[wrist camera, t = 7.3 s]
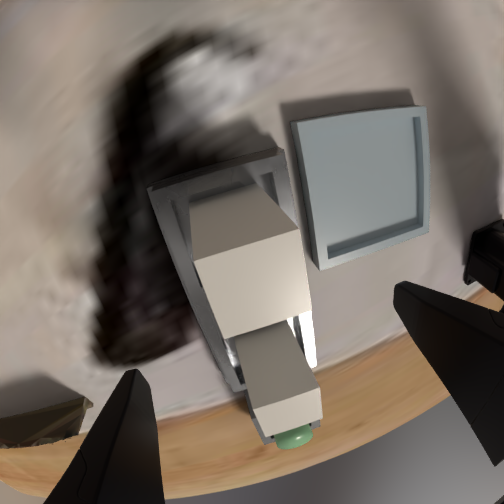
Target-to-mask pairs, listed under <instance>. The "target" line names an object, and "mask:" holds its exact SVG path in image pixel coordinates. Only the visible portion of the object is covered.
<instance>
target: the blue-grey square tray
mask: <svg viewBox="0 0 504 504" xmlns="http://www.w3.org/2000/svg"><path fill="white" fill-rule="evenodd" d="M290 125H291V130H292V135H293V140H294V145H295V150H296V156H297V161H298V167H299V172H300V178H301V184H302V190H303V196H304V202H305V208H306V215H307V221H308V228H309V235H310V242H311V249H312V256H313V263H314V264H315V266H316V267H317V268H318V269H319V271H322V270H325V269H328V268H330V267H333V266H336V265H339V264H342V263H345V262H348V261H351V260H354V259H357V258H360V257H362V256H365V255H368V254H371V253H374V252H377V251H379V250H382V249H385V248H388V247H390V246H393V245H396V244H399V243H401V242H404V241H407V240H410V239H412V238H415V237H418V236H420V235H423V234H426V233H428V232H429V219H430V152H429V135H428V122H427V111H426V106H419V105H409V106H397V107H386V108H376V109H368V110H359V111H352V112H345V113H338V114H331V115H325V116H319V117H313V118H307V119H302V120H297V121H291V122H290Z"/></svg>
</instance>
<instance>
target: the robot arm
mask: <svg viewBox="0 0 504 504" xmlns="http://www.w3.org/2000/svg"><path fill="white" fill-rule="evenodd" d="M475 281H477V282H479V283H480V284H481V285H482V286H484V287H485V288H486V289H487V290H489V291H490V292H491V293H495V294H496V295H497V296H498V297H499V298H501V299H502V300H503V301H504V219H501V220H499V221H497V222H495V223H493V224H491V225H488V226H486V227H484V228H482V229H480V230H478V231H475V232H474V233H473V235H472V241H471V248H470V254H469V260H468V266H467V271H466V276H465V281H464V283H465V284H466V285H470V284H471V283H473V282H475ZM393 305H394V308H395V310H396V312H397V313H398V315H399V317H400V318H401V320H402V322H403V324H404V325H405V327H406V329H407V331H408V332H409V334H410V336H411V337H412V339H413V341H414V342H415V344H416V345H417V347H418V348H419V349H420V351H421V352H422V354H423V355H424V356H425V358H426V359H427V361H428V362H429V363H430V365H431V366H432V368H433V369H434V371H435V372H436V374H437V375H438V377H439V378H440V379H441V381H442V382H443V384H444V385H445V387H446V388H447V390H448V391H449V393H450V394H451V396H452V397H453V399H454V401H455V402H456V404H457V405H458V407H459V408H460V410H461V411H462V413H463V415H464V416H465V418H466V419H467V421H468V423H469V424H470V425H471V428H472V429H473V431H474V433H475V434H476V436H477V438H478V439H479V441H480V443H481V444H482V446H483V448H484V450H485V451H486V453H487V455H488V456H489V458H490V460H491V462H492V464H493V465H494V466H497V465H498V464H499V463H500V462H501V461H503V460H504V305H503V307H502V309H501V310H500V311H499V312H497V311H494V310H491V309H488V308H485V307H483V306H480V305H477V304H474V303H471V302H468V301H465V300H462V299H459V298H456V297H453V296H450V295H447V294H444V293H441V292H438V291H435V290H432V289H429V288H426V287H423V286H420V285H417V284H414V283H411V282H408V281H402V282H400V283H398V284H396V285H395V287H394V299H393ZM43 504H165V499H164V492H163V484H162V475H161V466H160V455H159V444H158V432H157V424H156V418H155V413H154V407H153V401H152V395H151V389H150V386H149V383H148V382H147V381H146V379H145V378H144V376H143V375H142V374H141V372H140V371H139V370H138V369H132V370H128V371H126V372H125V373H124V375H123V376H122V378H121V379H120V381H119V383H118V384H117V386H116V388H115V389H114V391H113V392H112V394H111V396H110V397H109V399H108V401H107V402H106V404H105V406H104V407H103V409H102V411H101V412H100V414H99V416H98V417H97V419H96V421H95V422H94V424H93V426H92V427H91V429H90V431H89V433H88V434H87V436H86V438H85V439H84V441H83V443H82V445H81V446H80V449H79V450H78V451H77V453H76V455H75V457H74V458H73V460H72V462H71V463H70V465H69V467H68V468H67V470H66V471H65V473H64V474H63V476H62V477H61V479H60V480H59V482H58V483H57V485H56V486H55V488H54V489H53V490H52V492H51V493H50V495H49V496H48V498H47V499H46V501H45V502H44V503H43ZM495 504H504V495H503V496H502V497H501V498H500V499H499V500H498V501H497V502H495Z"/></svg>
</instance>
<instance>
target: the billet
mask: <svg viewBox="0 0 504 504" xmlns="http://www.w3.org/2000/svg"><path fill="white" fill-rule="evenodd" d="M189 212H190V225H191V238H192V249H193V260H194V264H195V266H196V269H197V272H198V274H199V277H200V280H201V282H202V285H203V288H204V290H205V293H206V295H207V298H208V300H209V303H210V306H211V308H212V311H213V313H214V316H215V318H216V321H217V323H218V326H219V328H220V330H221V333H222V335H223V338H224V339H226V338H230V337H233V336H236V335H240V334H243V333H246V332H249V331H253V330H256V329H259V328H262V327H265V326H268V325H271V324H274V323H277V322H280V321H283V320H286V319H289V318H292V317H295V316H298V315H301V314H304V313H306V312H309V311H312V306H311V299H310V292H309V285H308V278H307V272H306V265H305V259H304V252H303V246H302V240H301V234H300V229H299V228H298V226H297V225H296V224H295V223H294V222H293V221H292V220H291V219H290V218H289V217H288V216H287V215H286V214H285V212H284V211H283V210H282V209H281V208H280V207H279V206H278V205H277V204H276V203H275V202H274V201H273V200H272V199H271V198H270V197H269V196H268V194H267V193H266V192H265V191H264V190H263V189H262V188H261V187H260V186H259V185H258V184H257V183H255V184H251V185H248V186H244V187H241V188H237V189H234V190H230V191H227V192H223V193H220V194H217V195H213V196H210V197H207V198H204V199H200V200H197V201H194V202H191V203H189Z"/></svg>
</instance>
